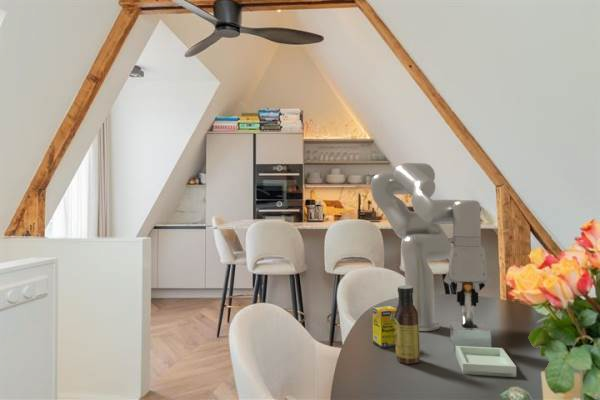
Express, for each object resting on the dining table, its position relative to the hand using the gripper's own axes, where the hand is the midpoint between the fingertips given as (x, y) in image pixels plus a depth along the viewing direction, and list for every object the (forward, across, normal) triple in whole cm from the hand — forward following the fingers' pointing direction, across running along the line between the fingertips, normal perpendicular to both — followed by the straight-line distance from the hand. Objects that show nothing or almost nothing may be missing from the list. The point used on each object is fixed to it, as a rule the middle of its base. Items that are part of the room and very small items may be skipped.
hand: (467, 304), depth 127 cm
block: (+12, 0, -1) cm, 12 cm away
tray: (+12, +2, -16) cm, 20 cm away
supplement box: (+13, -24, -3) cm, 27 cm away
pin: (+7, 0, 0) cm, 7 cm away
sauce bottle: (+12, -18, -16) cm, 27 cm away
